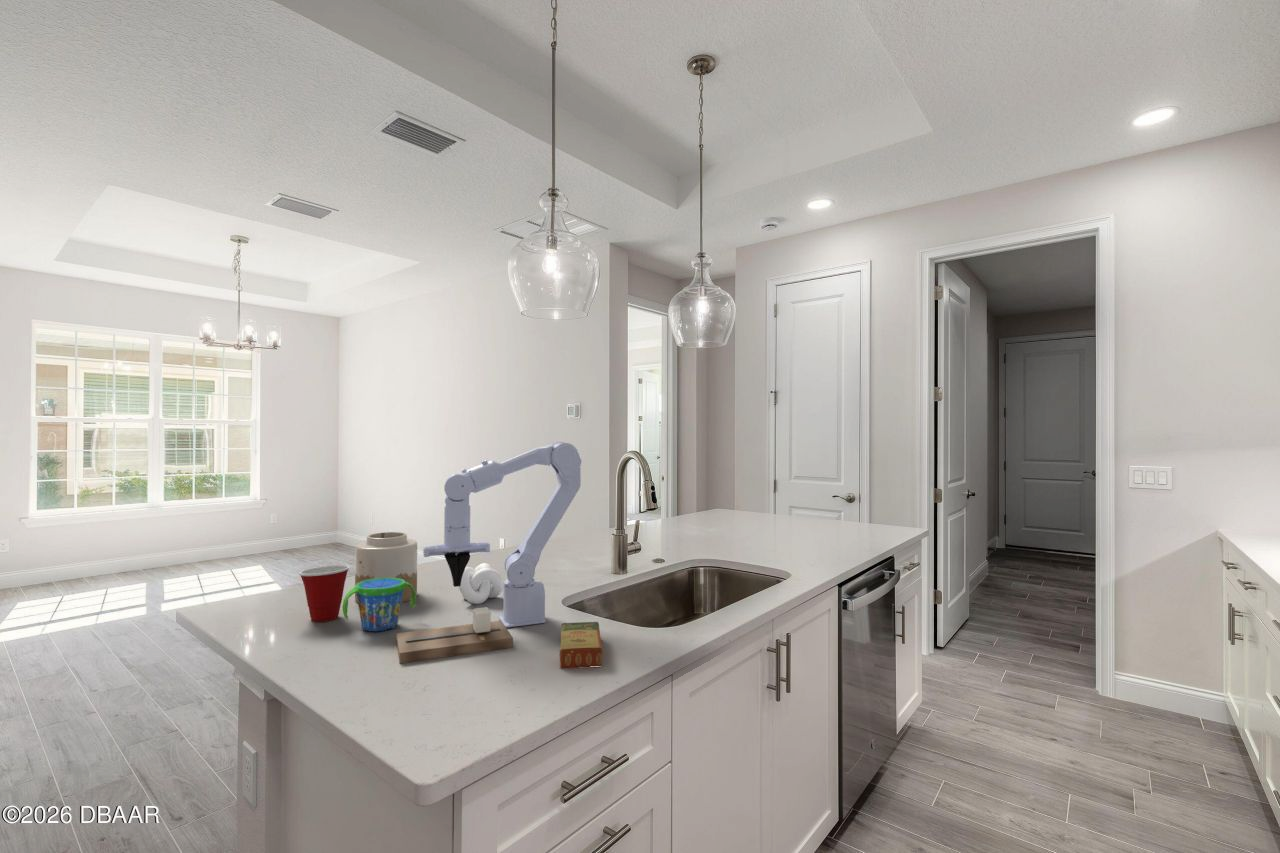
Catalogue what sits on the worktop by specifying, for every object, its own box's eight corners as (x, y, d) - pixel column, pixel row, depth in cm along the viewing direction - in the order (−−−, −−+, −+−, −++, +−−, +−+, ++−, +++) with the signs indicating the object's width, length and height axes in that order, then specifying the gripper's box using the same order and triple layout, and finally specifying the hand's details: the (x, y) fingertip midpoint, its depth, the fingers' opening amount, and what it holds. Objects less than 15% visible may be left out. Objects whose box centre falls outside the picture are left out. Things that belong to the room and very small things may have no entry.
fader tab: (487, 625, 132) (487, 607, 132) (490, 631, 128) (490, 612, 128) (472, 627, 130) (473, 608, 130) (475, 633, 127) (476, 614, 127)
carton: (559, 670, 115) (559, 648, 115) (560, 641, 131) (560, 621, 131) (602, 668, 116) (602, 646, 116) (598, 639, 132) (598, 620, 132)
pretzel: (508, 593, 166) (508, 561, 166) (498, 607, 154) (498, 571, 154) (466, 593, 166) (467, 561, 166) (453, 606, 154) (454, 571, 154)
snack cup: (410, 615, 146) (410, 573, 146) (421, 627, 137) (421, 583, 137) (339, 626, 138) (339, 582, 138) (345, 640, 129) (346, 593, 129)
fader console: (501, 629, 137) (501, 619, 137) (512, 647, 126) (512, 636, 126) (396, 642, 128) (396, 631, 128) (399, 663, 117) (399, 651, 117)
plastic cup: (334, 608, 151) (334, 560, 151) (358, 616, 145) (359, 566, 145) (289, 619, 142) (289, 569, 142) (313, 628, 136) (314, 575, 136)
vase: (403, 606, 153) (403, 540, 153) (343, 605, 154) (344, 540, 154) (425, 590, 169) (426, 530, 169) (371, 589, 169) (371, 529, 169)
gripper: (425, 531, 132) (424, 593, 132) (492, 527, 138) (492, 586, 138) (422, 526, 138) (422, 585, 138) (486, 522, 144) (486, 579, 144)
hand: (456, 585), depth 139 cm, fingers closed
